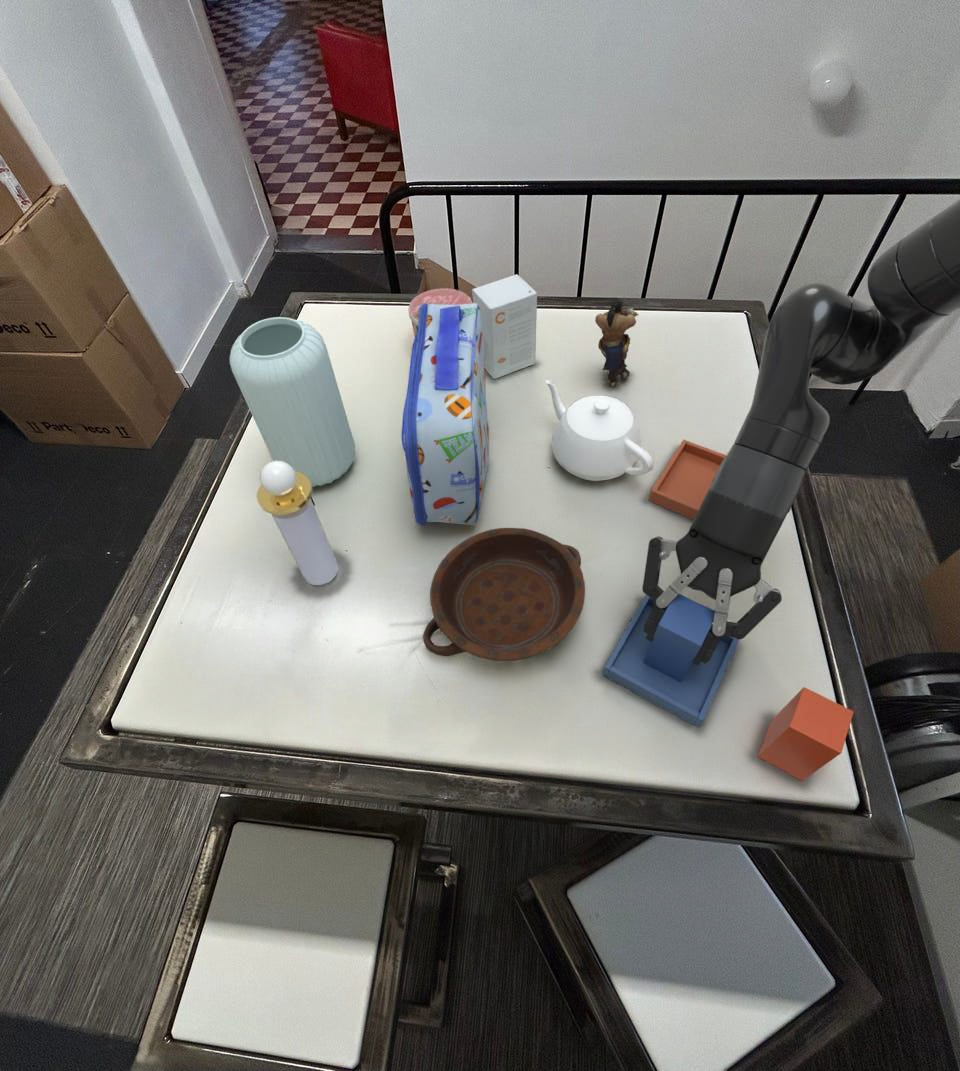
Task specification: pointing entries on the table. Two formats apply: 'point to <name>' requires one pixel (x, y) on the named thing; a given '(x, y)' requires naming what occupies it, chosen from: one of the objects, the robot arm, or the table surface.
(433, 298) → the container
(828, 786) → the table surface
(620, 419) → the teapot
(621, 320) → the figurine
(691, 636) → the blue block
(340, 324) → the table surface
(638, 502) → the table surface
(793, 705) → the terracotta block
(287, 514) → the perfume bottle
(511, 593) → the dish
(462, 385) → the lunch box
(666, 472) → the terracotta tray
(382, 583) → the table surface
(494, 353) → the small box
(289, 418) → the vase
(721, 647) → the blue tray
